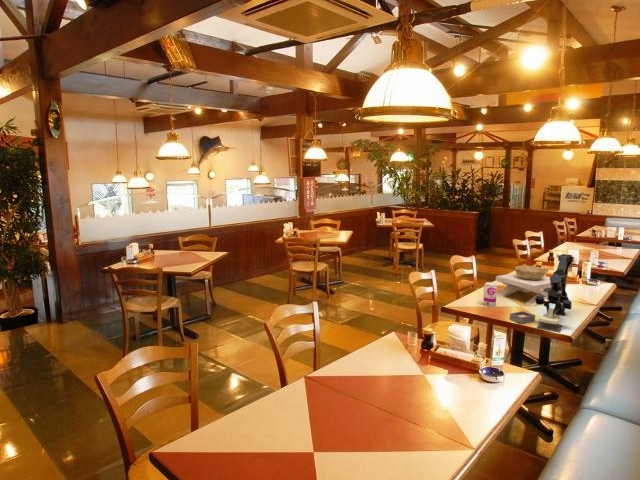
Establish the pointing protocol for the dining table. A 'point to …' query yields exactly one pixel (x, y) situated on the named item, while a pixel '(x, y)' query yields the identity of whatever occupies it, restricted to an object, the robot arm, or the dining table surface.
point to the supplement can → (490, 294)
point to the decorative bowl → (526, 282)
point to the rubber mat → (549, 326)
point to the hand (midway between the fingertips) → (550, 314)
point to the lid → (550, 317)
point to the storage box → (522, 317)
